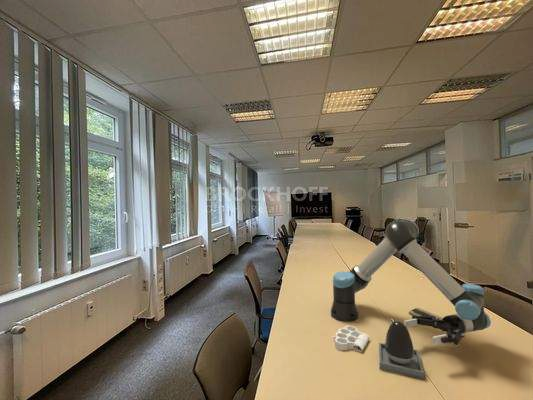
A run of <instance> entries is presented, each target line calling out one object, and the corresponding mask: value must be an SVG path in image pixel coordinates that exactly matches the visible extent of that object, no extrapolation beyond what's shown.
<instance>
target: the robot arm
mask: <svg viewBox="0 0 533 400" xmlns="http://www.w3.org/2000/svg"><path fill="white" fill-rule="evenodd" d="M419 234H420V230H419V226H418V225H417V224H416V222H414V221H413V220H410V219H407V218H402V219H399V220H398V219H397V220H393V221H391V222H390V223H388V224H387V225H386V228H385V233H384V238H383V239H382V240H381V241H380V243H379V244H378V245H377V246H376V247H375V248H374V249H372V251H371V252H370V253H369V254H368V255H367V256H366V258H364V259H363V261H361V262H360V264H355V265H354V266H353V267H352V268H351V269H350V270H349V271H339V272H336V273H334V274H333V276H332V292H333V293H332V295H333V302H332V305H331V308H330V316H331V317H332V318H333V319H335V320H337V321H340V322H347V323H349V322H350V323H351V322H352V323H353V322H355V321H357V320H359V318H360V316H359V310H358V308H357V304H356V293H358V292H360V291H362V290H364V289H366V288H367V286H368V285H369V283H370V282H371V281H372V279H373V278H372V276H373V275H374V273H376V272H377V271H378V270H379V269H380V268H381V267H383V265H384V264H385V263H386V262H387V261H388V260H389V259H390V258H391V257H393V255H394V254H395V253H396V252H398V253H402V254H403V255H404V256H406V258H408V260H409V261H410V262H411V263H413V265H414V266H415V267H416V268H417V269H418V270H420V272H421V274H423V275H424V276H425V277H426V278H427V279H428V281H430V282H431V284H432V285H433V286H435V287H436V288H437V289H438V291H440V293H442V295H443V296H444V297H445V298H446V299H447V300H448V301H449V302H450V303H451V304H452V305H453V306H454V309H455V312H456V313H453V314H450V315H446V316H444V317H442V318H443V319H442V320H437V319H436V317H435V316H430V317H429V316H412V315H411V319H407V320H403V324H404V325H405V326H406V328H407V329H408V328H411V327H416V326H418V325H420V326H425V327H431V328H433V329H438V330H441V332H446V333H445V334H440V335H435V336H432V341H431V342H432V345H434V346H435V345H440V344H441V345H442V344H447V343H449V344H453V345H454V346H458V345H459V344H460V342H461V340H462V339H463V338H465V334H468V333H472V332H477V331H482V330H485V329H488V328H489V327H490V326H491V322H492V321H491V319H490V317H489V315H488V314H487V313H486V312H485V294H484V293H485V292H484V288H483V287H482V286H480V285H479V284H478V285H477V284H472V283H463V284H462V285H461V284H459V283H458V282H457V281H456V279H454V278H453V277H452V276H451V275H450V274H449V273H448V272H447V271H446V270H445V269H444V268H443V267H442V266H441V265H440V264H439V263H438V262H437V261H436V260H435V259H434V258H433V257H431V255H430V254H429V253H428V252H427V251H426V250H424V248H423V247H422V246H421V245H420V244H419V243H418V242H417V241H418V240H417V238H418V236H419ZM435 323H436V326H435Z"/></svg>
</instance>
